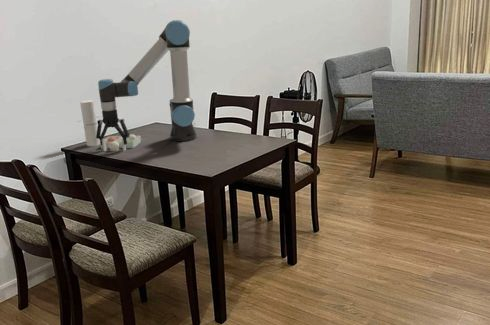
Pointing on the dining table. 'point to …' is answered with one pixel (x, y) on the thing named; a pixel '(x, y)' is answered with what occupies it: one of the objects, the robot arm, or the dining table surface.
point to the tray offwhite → (118, 139)
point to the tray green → (131, 142)
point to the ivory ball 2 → (131, 137)
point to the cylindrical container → (89, 122)
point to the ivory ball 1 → (114, 145)
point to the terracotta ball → (111, 139)
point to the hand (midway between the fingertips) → (114, 150)
